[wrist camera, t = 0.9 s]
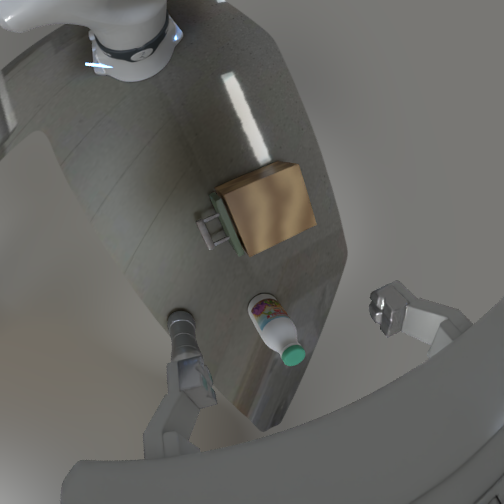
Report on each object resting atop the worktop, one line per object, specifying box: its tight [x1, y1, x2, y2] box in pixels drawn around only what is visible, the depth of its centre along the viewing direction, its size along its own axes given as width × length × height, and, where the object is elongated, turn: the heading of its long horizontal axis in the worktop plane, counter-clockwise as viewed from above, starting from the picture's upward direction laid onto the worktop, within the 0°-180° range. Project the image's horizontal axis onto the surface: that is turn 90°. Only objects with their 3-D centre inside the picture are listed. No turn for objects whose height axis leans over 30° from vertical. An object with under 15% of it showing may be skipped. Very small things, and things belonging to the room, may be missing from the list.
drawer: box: [196, 192, 245, 256], centre depth 52 cm, size 18×11×8 cm, turn 110°
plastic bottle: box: [167, 311, 204, 362], centre depth 53 cm, size 6×7×20 cm
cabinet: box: [215, 161, 316, 257], centre depth 53 cm, size 15×13×10 cm
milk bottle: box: [248, 294, 305, 366], centre depth 58 cm, size 8×8×20 cm
